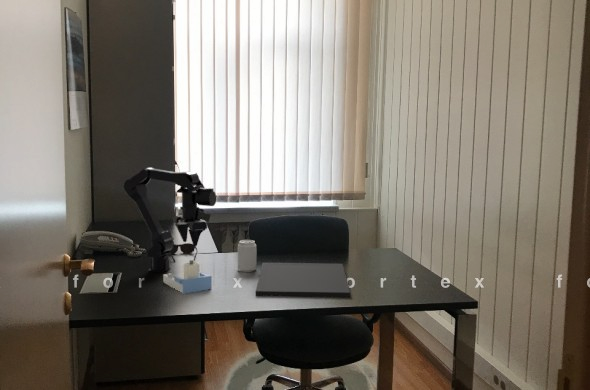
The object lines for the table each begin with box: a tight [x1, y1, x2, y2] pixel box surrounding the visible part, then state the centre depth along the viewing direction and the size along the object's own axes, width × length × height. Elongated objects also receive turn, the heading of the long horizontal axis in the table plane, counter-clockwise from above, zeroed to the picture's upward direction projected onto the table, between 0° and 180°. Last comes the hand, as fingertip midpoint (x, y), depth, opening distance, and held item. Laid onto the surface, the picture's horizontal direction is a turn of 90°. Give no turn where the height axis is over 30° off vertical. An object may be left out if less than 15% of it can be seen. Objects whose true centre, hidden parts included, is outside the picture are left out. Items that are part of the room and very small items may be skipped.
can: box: [237, 239, 257, 273], centre depth 253 cm, size 8×8×12 cm
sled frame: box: [162, 272, 213, 295], centre depth 230 cm, size 18×11×5 cm, turn 35°
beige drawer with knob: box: [183, 259, 200, 279], centre depth 227 cm, size 4×4×10 cm
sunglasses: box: [167, 242, 198, 263], centre depth 273 cm, size 14×16×5 cm
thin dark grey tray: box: [255, 262, 351, 299], centre depth 239 cm, size 40×2×33 cm
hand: (190, 244), depth 245 cm, fingers open, 9 cm apart
